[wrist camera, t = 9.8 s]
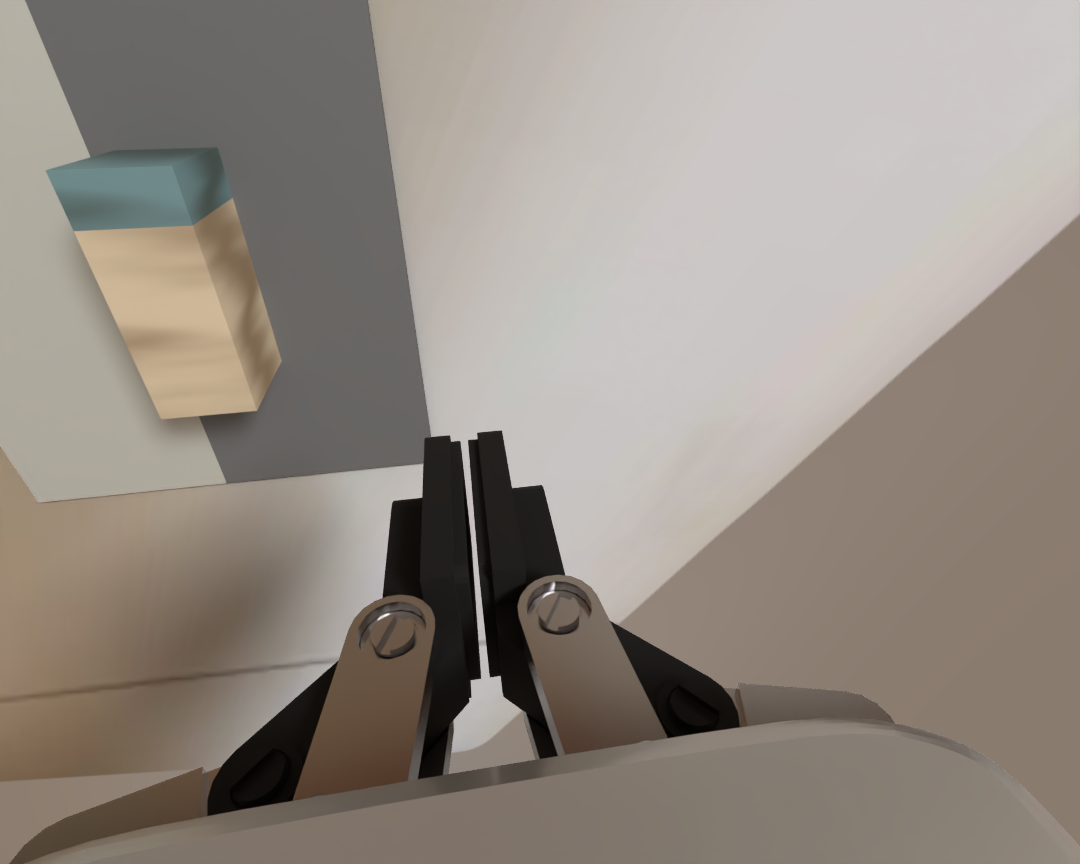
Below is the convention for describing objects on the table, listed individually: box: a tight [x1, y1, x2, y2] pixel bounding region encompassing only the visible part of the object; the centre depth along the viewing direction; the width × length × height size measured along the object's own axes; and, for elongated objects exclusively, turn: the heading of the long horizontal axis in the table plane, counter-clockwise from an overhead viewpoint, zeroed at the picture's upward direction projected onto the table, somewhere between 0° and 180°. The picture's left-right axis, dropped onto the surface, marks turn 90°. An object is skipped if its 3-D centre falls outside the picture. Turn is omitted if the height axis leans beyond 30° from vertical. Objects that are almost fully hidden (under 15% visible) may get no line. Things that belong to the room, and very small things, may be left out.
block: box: [45, 147, 282, 419], centre depth 24 cm, size 5×4×10 cm
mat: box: [0, 0, 431, 503], centre depth 24 cm, size 30×22×1 cm
